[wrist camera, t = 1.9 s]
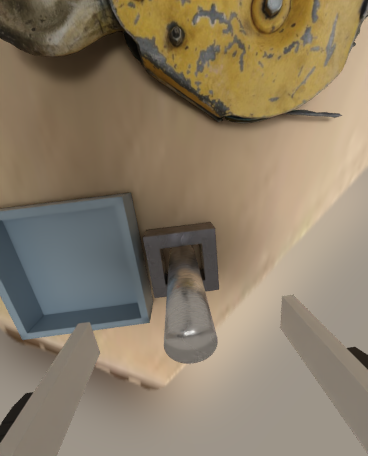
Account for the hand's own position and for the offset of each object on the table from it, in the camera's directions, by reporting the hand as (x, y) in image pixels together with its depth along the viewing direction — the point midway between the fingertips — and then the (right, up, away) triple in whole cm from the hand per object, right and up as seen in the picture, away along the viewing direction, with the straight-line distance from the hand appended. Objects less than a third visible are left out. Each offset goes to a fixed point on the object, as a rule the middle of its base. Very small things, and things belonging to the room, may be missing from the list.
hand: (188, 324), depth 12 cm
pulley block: (0, +24, +4) cm, 24 cm away
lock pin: (-1, +3, +10) cm, 10 cm away
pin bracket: (-1, +3, +10) cm, 10 cm away
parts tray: (-13, +3, +9) cm, 16 cm away
